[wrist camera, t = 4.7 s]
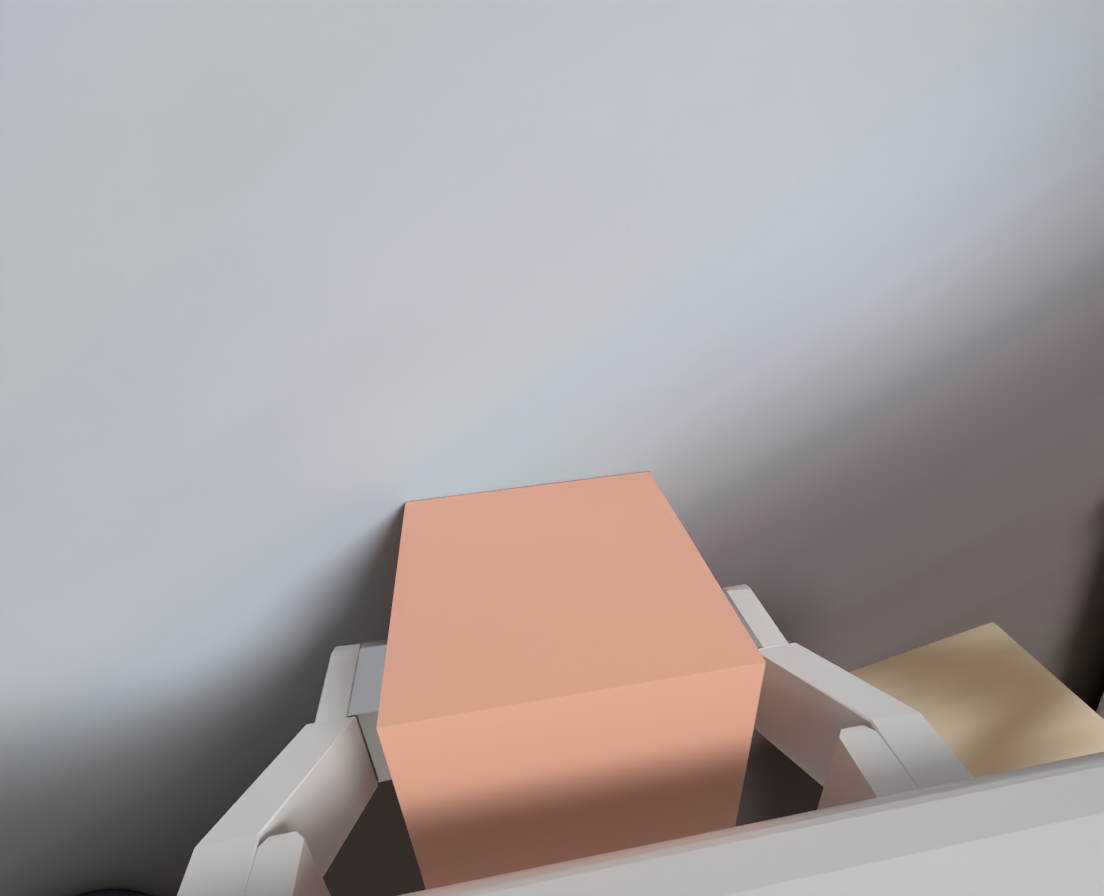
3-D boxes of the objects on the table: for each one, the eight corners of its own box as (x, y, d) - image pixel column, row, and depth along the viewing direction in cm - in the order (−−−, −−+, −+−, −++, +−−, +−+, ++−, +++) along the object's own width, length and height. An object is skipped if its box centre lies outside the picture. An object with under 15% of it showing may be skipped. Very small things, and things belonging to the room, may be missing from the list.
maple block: (990, 620, 16) (1190, 796, 12) (978, 722, 19) (1139, 899, 14) (824, 677, 16) (961, 874, 12) (833, 772, 19) (950, 963, 14)
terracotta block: (649, 471, 12) (766, 662, 7) (643, 643, 14) (728, 863, 10) (405, 501, 11) (377, 727, 7) (441, 675, 14) (437, 925, 9)
